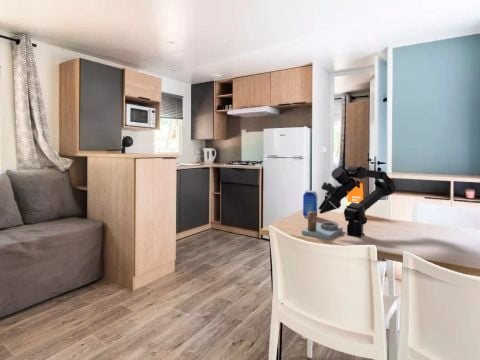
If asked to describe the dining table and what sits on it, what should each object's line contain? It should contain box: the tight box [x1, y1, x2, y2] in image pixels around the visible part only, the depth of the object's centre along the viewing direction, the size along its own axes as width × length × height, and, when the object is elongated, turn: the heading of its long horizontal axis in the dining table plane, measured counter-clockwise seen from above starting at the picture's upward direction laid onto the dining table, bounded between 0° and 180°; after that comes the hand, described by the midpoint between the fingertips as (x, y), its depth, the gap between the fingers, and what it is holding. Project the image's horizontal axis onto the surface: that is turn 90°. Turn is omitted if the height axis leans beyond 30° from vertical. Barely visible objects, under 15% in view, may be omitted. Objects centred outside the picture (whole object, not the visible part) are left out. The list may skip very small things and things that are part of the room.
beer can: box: [302, 190, 318, 219], centre depth 183 cm, size 8×8×16 cm
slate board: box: [301, 221, 344, 240], centre depth 149 cm, size 14×17×4 cm
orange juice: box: [345, 182, 364, 206], centre depth 190 cm, size 8×9×20 cm
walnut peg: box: [307, 211, 318, 232], centre depth 147 cm, size 4×4×9 cm
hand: (319, 211), depth 145 cm, fingers open, 9 cm apart
